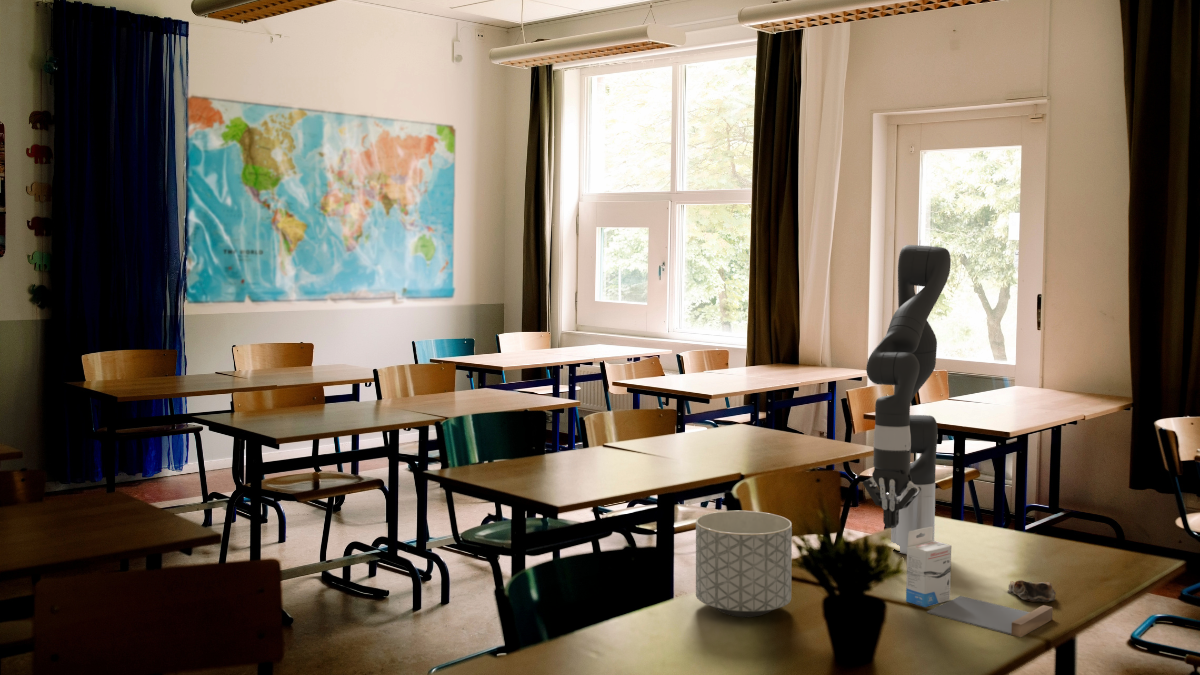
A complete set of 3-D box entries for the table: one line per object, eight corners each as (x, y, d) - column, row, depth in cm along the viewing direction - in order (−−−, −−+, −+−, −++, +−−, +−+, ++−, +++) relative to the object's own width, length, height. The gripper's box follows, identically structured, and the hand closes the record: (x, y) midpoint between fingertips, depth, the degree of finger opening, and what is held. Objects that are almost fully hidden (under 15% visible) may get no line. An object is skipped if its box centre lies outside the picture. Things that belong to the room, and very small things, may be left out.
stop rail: (1011, 634, 189) (1011, 622, 188) (1043, 617, 198) (1043, 605, 198) (1021, 637, 187) (1021, 624, 187) (1052, 619, 197) (1052, 607, 197)
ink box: (925, 608, 204) (926, 536, 203) (905, 601, 208) (906, 531, 207) (951, 600, 209) (952, 530, 208) (931, 594, 213) (932, 525, 212)
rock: (1063, 606, 205) (1046, 582, 215) (1058, 580, 204) (1041, 557, 214) (1020, 615, 207) (1004, 590, 216) (1014, 589, 205) (999, 566, 215)
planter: (802, 625, 194) (803, 532, 193) (704, 628, 193) (704, 535, 192) (778, 594, 213) (778, 509, 212) (688, 596, 212) (689, 511, 210)
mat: (927, 612, 201) (927, 611, 201) (960, 597, 211) (960, 595, 210) (1010, 634, 189) (1010, 633, 189) (1042, 616, 198) (1042, 615, 198)
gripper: (854, 444, 215) (854, 525, 216) (911, 451, 205) (910, 535, 206) (873, 440, 220) (872, 519, 221) (929, 447, 211) (928, 529, 211)
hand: (891, 527), depth 214 cm, fingers closed
